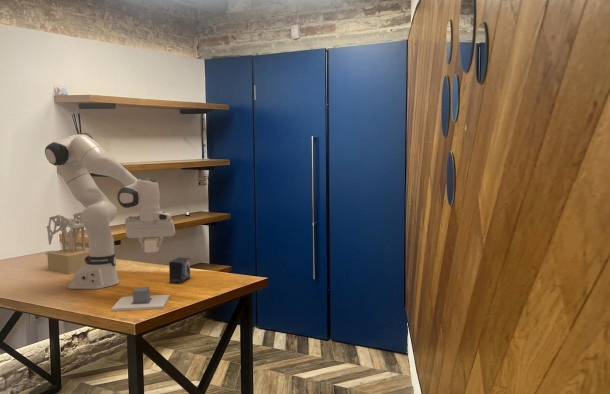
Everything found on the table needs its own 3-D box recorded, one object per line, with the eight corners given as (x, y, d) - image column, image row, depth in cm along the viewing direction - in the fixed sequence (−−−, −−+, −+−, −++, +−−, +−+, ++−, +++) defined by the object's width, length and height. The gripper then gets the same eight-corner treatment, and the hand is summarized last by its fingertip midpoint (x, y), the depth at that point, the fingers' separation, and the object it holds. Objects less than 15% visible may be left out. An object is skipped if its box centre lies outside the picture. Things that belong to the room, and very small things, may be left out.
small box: (181, 283, 233) (180, 262, 232) (169, 283, 235) (168, 261, 234) (191, 278, 244) (190, 257, 243) (179, 277, 245) (178, 257, 244)
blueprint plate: (111, 311, 194) (111, 308, 194) (121, 299, 210) (121, 296, 210) (163, 308, 196) (163, 305, 196) (169, 296, 212) (169, 294, 212)
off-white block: (144, 252, 210) (144, 240, 209) (146, 250, 215) (146, 238, 214) (156, 251, 210) (156, 240, 210) (158, 249, 215) (158, 238, 215)
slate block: (133, 303, 200) (132, 291, 200) (136, 299, 205) (135, 287, 205) (147, 302, 201) (146, 290, 200) (149, 298, 206) (149, 286, 206)
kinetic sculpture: (104, 267, 269) (101, 213, 266) (70, 275, 252) (67, 217, 249) (77, 262, 282) (74, 210, 279) (43, 270, 265) (39, 214, 262)
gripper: (123, 217, 207) (124, 249, 208) (172, 215, 209) (174, 247, 210) (126, 215, 213) (128, 247, 214) (174, 213, 215) (176, 244, 217)
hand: (151, 247), depth 212 cm, fingers closed on off-white block, 5 cm apart
